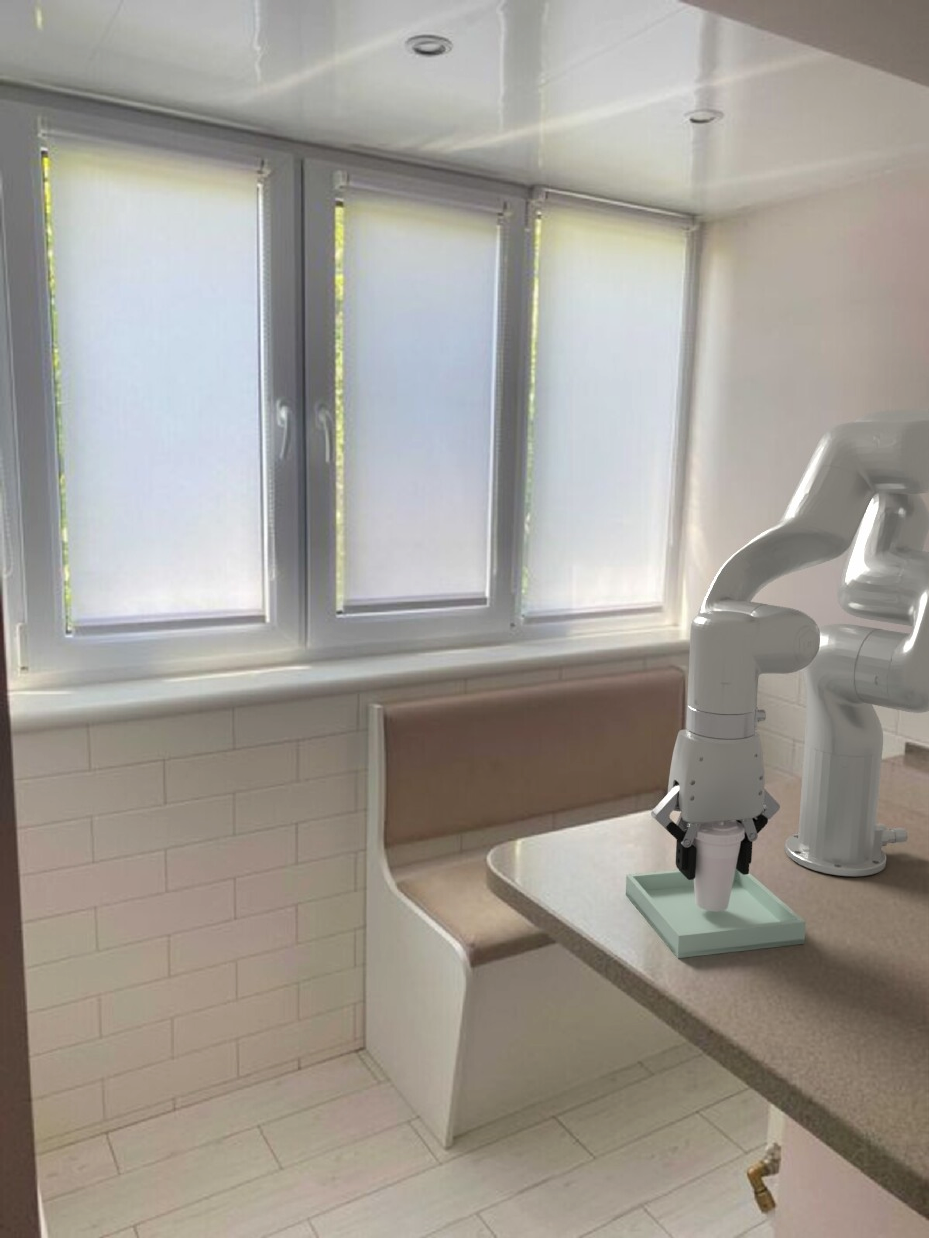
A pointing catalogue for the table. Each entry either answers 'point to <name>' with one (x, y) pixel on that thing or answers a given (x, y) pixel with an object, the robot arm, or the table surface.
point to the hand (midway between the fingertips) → (713, 870)
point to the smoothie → (716, 863)
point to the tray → (713, 915)
